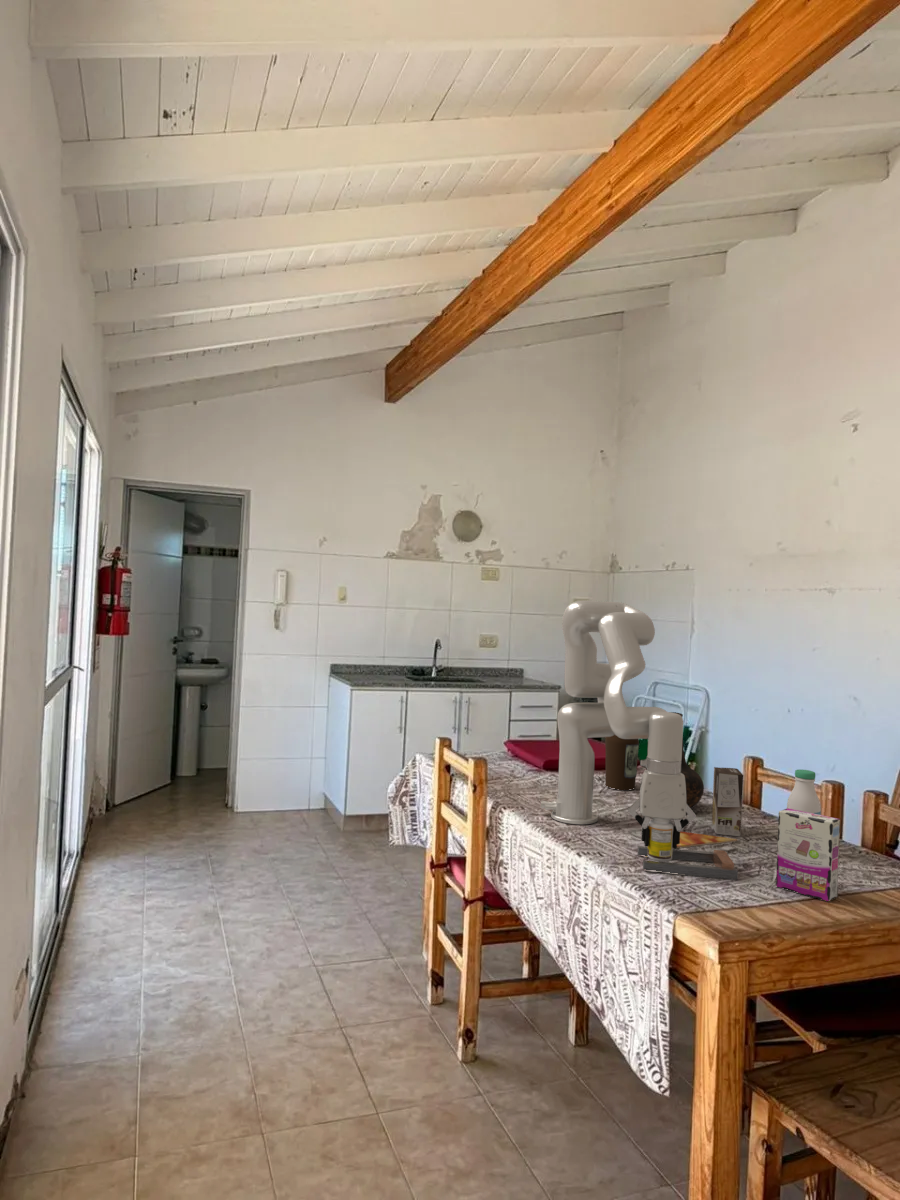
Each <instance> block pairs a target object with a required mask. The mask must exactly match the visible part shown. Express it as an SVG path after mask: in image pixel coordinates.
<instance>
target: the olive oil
mask: <svg viewBox="0 0 900 1200" xmlns="http://www.w3.org/2000/svg"><path fill="white" fill-rule="evenodd" d="M604 742H605V746H604V747H605V782H604V783H605V785H606V786H608V787H611V788H615V789H619V790H618V791H622V790H629V789H633V788H636V777H637V773H638V770H637V767H638V756H639V755H638V754H639V748H640V747H639V746H640V739H622V738H619V737H618V736H616V735H613V736H611V737H605V741H604ZM606 786H605V787H606ZM629 791H630V790H629Z"/></svg>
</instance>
